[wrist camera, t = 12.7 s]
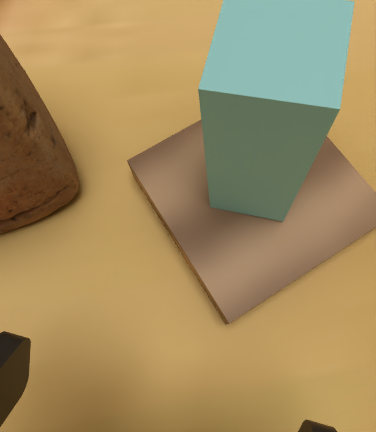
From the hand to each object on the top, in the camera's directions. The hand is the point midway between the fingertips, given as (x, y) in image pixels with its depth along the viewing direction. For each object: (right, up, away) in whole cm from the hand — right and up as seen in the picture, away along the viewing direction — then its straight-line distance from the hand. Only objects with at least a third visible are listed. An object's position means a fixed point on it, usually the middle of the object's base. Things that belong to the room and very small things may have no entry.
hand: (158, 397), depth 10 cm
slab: (+5, +6, +15) cm, 17 cm away
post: (+5, +7, +12) cm, 15 cm away
